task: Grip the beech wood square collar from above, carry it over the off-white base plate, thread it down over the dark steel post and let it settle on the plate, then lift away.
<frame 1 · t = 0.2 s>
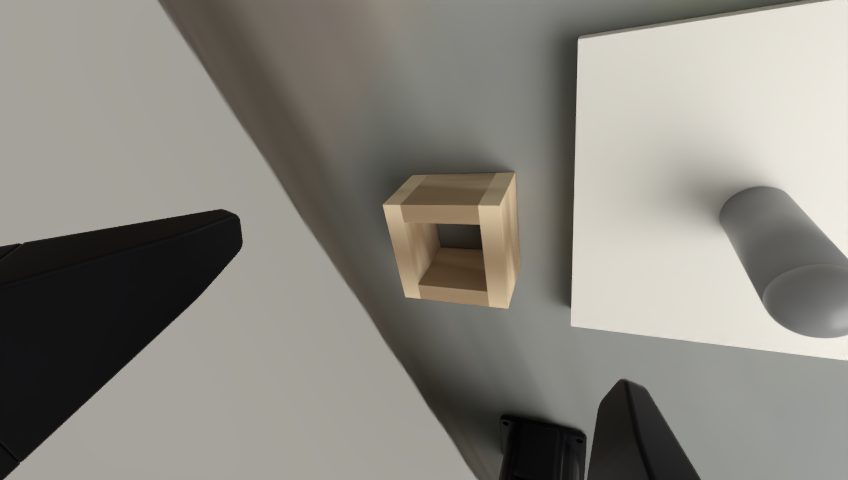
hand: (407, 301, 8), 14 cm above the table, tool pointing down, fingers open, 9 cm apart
collar: (467, 220, 23), on the table
post plate: (744, 197, 17), on the table
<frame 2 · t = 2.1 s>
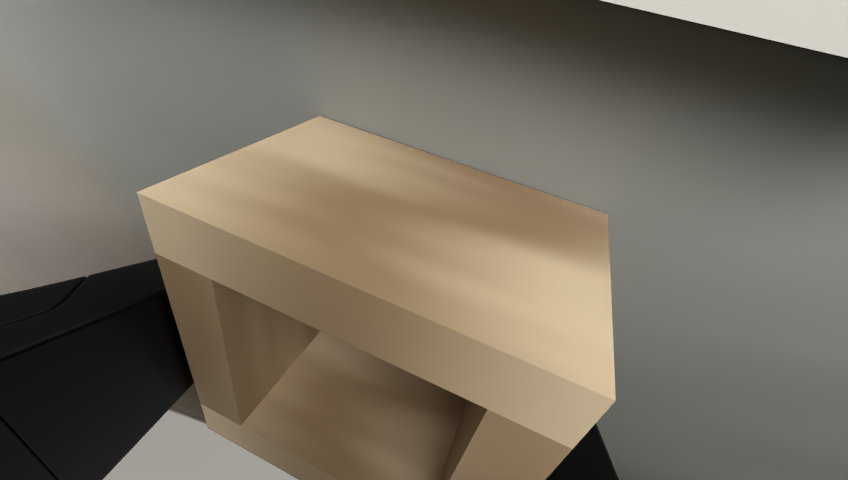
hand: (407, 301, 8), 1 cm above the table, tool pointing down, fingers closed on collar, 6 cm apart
collar: (423, 274, 9), on the table, touching gripper
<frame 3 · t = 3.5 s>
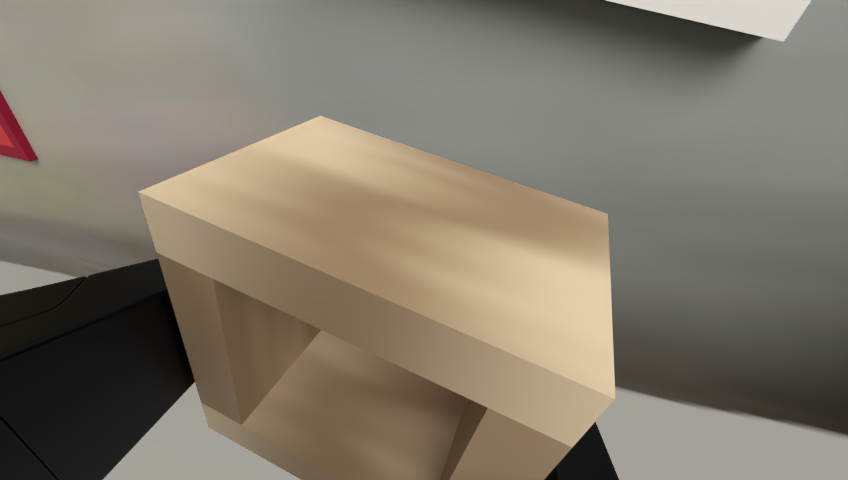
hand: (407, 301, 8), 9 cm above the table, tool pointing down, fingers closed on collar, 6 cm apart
collar: (424, 274, 9), point 8 cm above the table, touching gripper
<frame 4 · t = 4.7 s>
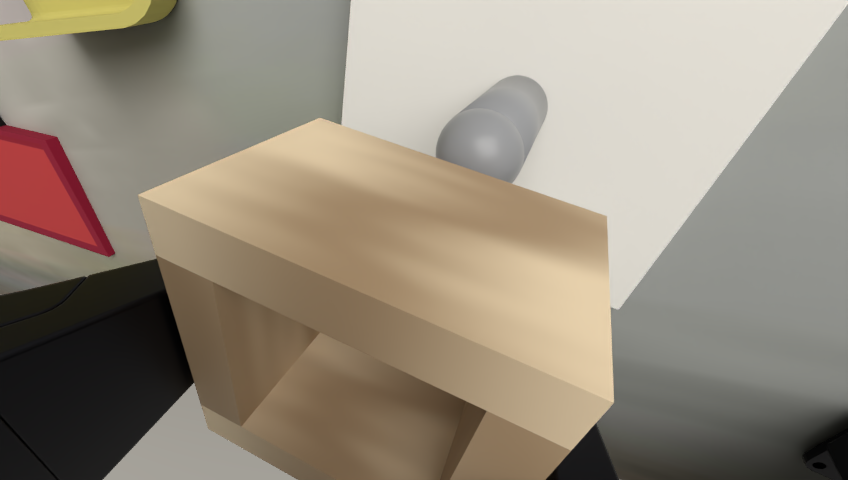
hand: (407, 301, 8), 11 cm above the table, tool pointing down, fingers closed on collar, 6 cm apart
collar: (423, 275, 9), point 10 cm above the table, touching gripper
post plate: (521, 100, 16), on the table
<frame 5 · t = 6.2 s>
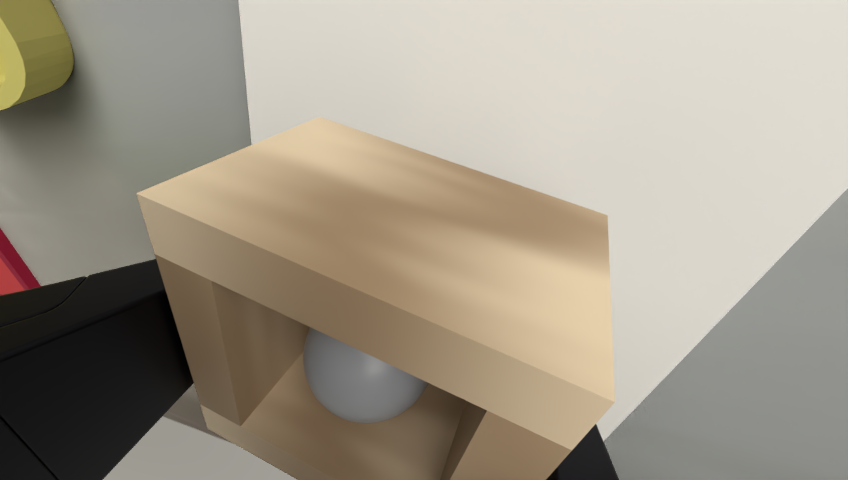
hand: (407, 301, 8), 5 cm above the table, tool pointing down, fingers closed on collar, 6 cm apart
collar: (423, 275, 9), point 4 cm above the table, touching gripper
post plate: (470, 197, 13), on the table
when the fingers open (3 cm above the table, at t = 7.6 s): collar stays where it is, resting on post plate.
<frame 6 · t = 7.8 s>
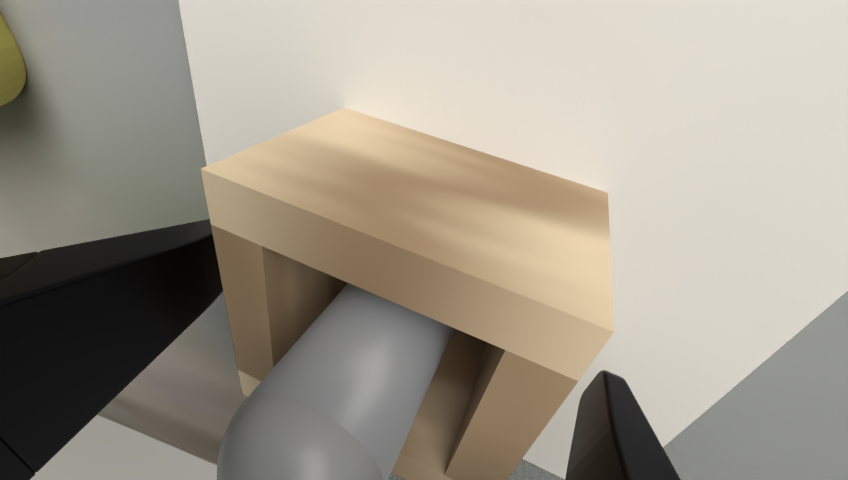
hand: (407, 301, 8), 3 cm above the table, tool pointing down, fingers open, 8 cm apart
collar: (438, 254, 10), point 1 cm above the table, touching post plate
post plate: (454, 225, 11), on the table
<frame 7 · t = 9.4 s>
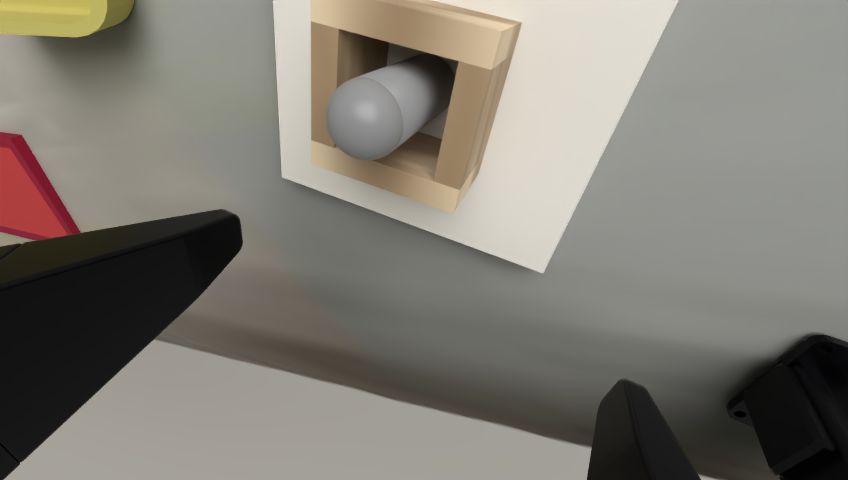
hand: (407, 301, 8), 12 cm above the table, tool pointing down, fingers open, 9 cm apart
collar: (429, 86, 16), point 1 cm above the table, touching post plate
post plate: (439, 78, 17), on the table
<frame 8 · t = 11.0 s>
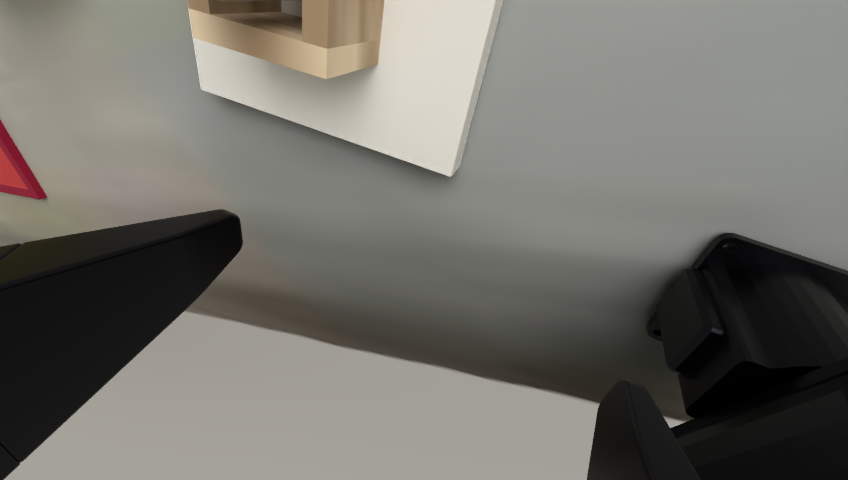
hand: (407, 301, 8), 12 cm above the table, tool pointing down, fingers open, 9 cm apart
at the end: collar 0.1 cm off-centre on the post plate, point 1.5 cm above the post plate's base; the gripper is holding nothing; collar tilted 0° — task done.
